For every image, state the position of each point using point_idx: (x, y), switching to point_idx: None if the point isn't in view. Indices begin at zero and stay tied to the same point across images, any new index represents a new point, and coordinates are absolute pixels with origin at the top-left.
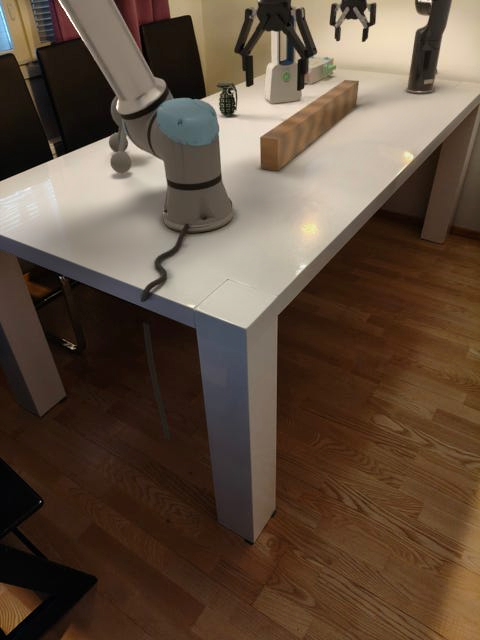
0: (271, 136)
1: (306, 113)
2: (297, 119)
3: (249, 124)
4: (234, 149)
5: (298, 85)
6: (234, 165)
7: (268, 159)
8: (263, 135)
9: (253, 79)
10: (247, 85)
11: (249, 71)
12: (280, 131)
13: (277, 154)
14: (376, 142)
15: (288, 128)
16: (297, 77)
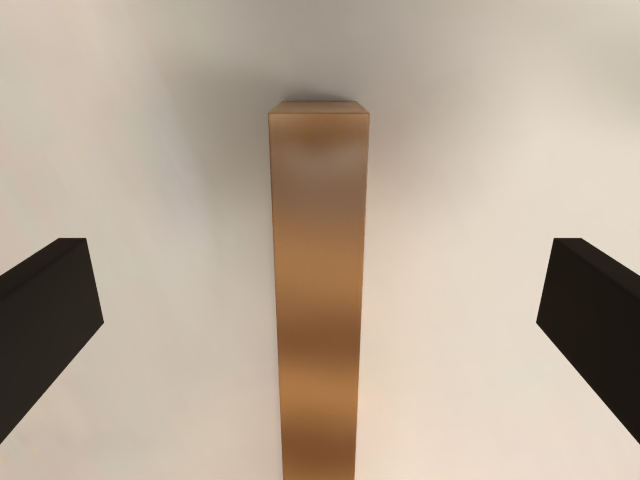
0: (318, 143)
1: (310, 466)
2: (311, 393)
3: (565, 475)
4: (535, 252)
5: (47, 253)
6: (473, 97)
7: (322, 104)
8: (364, 145)
9: (556, 344)
10: (572, 241)
11: (628, 326)
12: (310, 227)
13: (277, 106)
14: (106, 447)
15: (294, 277)
16: (16, 286)
